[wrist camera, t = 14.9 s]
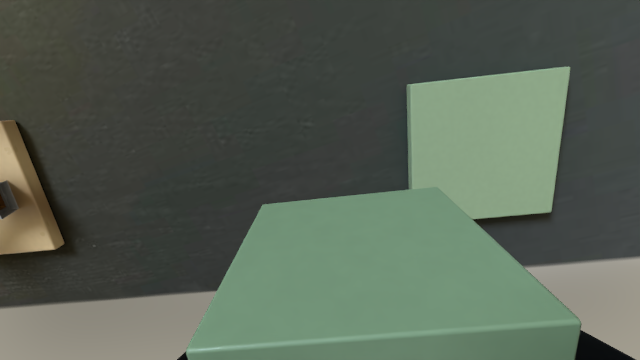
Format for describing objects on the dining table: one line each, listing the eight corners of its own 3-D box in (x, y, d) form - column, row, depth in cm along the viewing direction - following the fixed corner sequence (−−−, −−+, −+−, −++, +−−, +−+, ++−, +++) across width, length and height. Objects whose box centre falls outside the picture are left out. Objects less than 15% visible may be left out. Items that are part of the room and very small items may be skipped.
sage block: (437, 328, 9) (540, 555, 5) (287, 339, 9) (253, 565, 5) (437, 185, 8) (584, 320, 3) (262, 203, 8) (182, 351, 3)
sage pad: (542, 207, 18) (552, 212, 17) (409, 219, 18) (412, 225, 18) (559, 67, 16) (571, 66, 15) (406, 84, 16) (410, 84, 15)
